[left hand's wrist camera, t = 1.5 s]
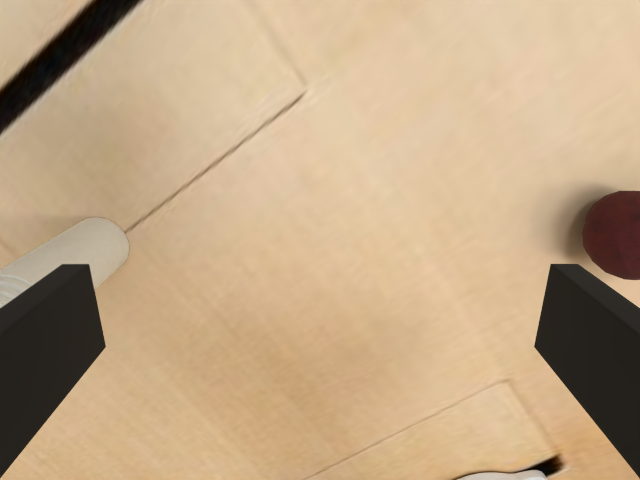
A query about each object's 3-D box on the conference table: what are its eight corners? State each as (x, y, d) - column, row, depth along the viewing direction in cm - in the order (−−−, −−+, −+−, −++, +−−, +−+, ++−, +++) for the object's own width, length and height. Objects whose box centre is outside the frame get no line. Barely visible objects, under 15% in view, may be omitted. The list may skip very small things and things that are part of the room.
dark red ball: (584, 272, 43) (633, 307, 36) (553, 209, 40) (598, 234, 34) (658, 233, 41) (722, 262, 35) (629, 165, 39) (692, 183, 32)
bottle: (114, 280, 43) (-17, 407, 26) (62, 250, 42) (-108, 363, 25) (139, 238, 42) (18, 344, 25) (86, 205, 41) (-78, 294, 24)
